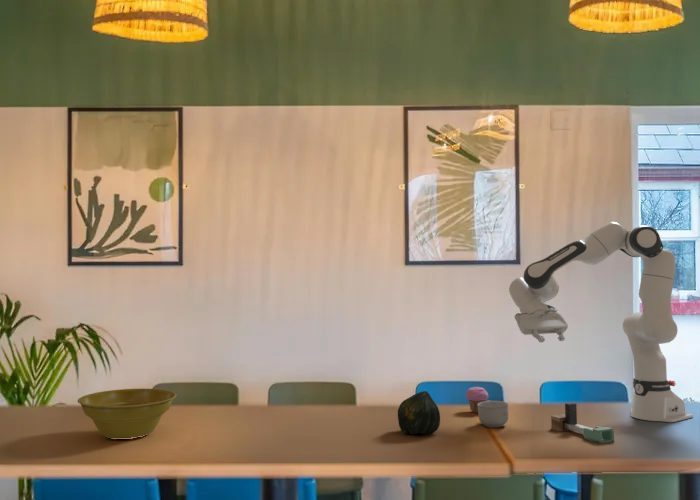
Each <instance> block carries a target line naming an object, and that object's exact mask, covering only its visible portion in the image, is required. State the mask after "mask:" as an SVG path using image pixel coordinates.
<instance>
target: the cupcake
mask: <svg viewBox="0 0 700 500" xmlns="http://www.w3.org/2000/svg"><path fill="white" fill-rule="evenodd" d="M465 398H466V399H467V400H468V402H469V403H468V404H469V410H470V411H471V412H472V413H475V414H478V406H477V404H478V403H480V402H484V401H488V400H489V393H488V391H487V390H486V389H485V388H484V387H480V386H472V387H469V388H468V389H467V390H466V393H465Z"/></svg>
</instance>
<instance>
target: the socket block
mask: <svg viewBox="0 0 700 500" xmlns="http://www.w3.org/2000/svg"><path fill="white" fill-rule="evenodd" d="M550 418H551V419H550V421H551V423H550V424H551V425H550V427H551V429H552V430H554V431H558V432H564V430H565V431H570V430H569V429H566V428H563V421H565V413H564V414H563V413H562V414H555V415H551V416H550Z"/></svg>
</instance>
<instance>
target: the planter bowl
mask: <svg viewBox="0 0 700 500" xmlns="http://www.w3.org/2000/svg"><path fill="white" fill-rule="evenodd" d="M176 397H177V393H176V392H174V391H171V390H167V389H162V388H161V389H160V388H125V389H124V388H121V389H114V390H113V389H112V390H111V389H110V390H104V391H99V392H94V393H90V394H86V395H83V396H81V397H79V398H78V399H77V403H78V404H79V405H81V408H82V411H83V413H84V415H86V416H87V417H89V418H90V419H91V420H92V422H93V424H94V426H95V427H96V429H97V431H98V432H99V434H101V436H103V437H105V438H106V437H109V438H131V437H138V436H143V435H146V434H149V435H150V434H151V433H152V432H153V431H155V429H156V428H157V426H158V424H159V423H160V421H161V418H162V416H163V415H164V414H165V413H166V412H167V411H169V410H170V408H171V406H172V404H173V401H174V399H175V398H176Z"/></svg>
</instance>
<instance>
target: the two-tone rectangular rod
mask: <svg viewBox="0 0 700 500" xmlns="http://www.w3.org/2000/svg"><path fill="white" fill-rule="evenodd" d="M577 407H578V406H577V403H575V402H566V403H565V402H564V408H565V409H564V412H565V413H564V414H565V421H563V428H566V429H569V430H568V431H572V432H576V433H580V434H583V435H584V428H589V429H592V430H593V429H594V428H593V427H590V426H586V425H582V424H579V423H578V414H577V413H578V410H577Z"/></svg>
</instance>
